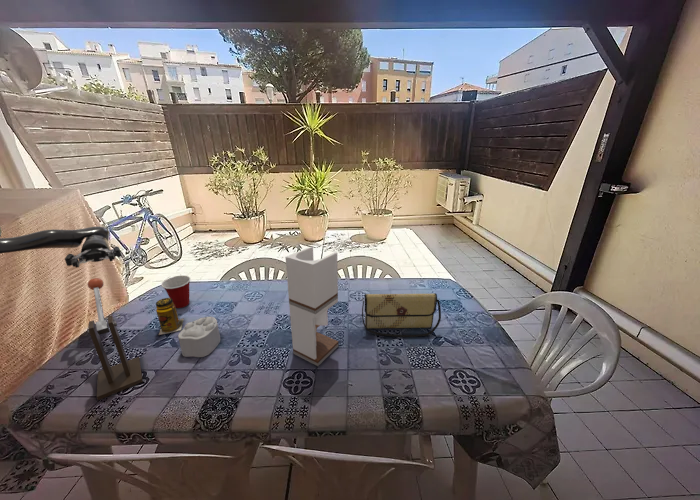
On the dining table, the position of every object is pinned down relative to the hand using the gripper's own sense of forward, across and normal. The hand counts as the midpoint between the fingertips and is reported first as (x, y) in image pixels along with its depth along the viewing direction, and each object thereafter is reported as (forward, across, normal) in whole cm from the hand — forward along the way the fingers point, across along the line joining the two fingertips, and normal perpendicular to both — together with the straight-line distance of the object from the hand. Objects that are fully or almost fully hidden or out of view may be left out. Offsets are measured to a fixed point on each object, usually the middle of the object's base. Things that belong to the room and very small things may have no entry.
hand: (93, 261), depth 90 cm
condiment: (+6, +16, +30) cm, 34 cm away
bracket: (+26, 0, +29) cm, 40 cm away
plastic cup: (-10, +22, +30) cm, 38 cm away
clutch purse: (+65, +82, +30) cm, 109 cm away
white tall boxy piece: (+53, +52, +30) cm, 80 cm away
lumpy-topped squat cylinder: (+25, +23, +30) cm, 45 cm away
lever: (+18, 0, +9) cm, 20 cm away
